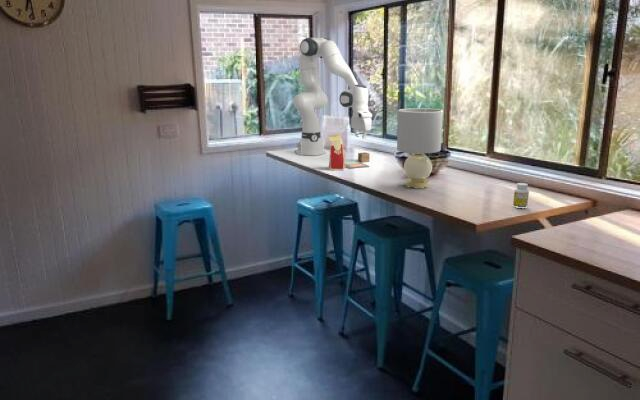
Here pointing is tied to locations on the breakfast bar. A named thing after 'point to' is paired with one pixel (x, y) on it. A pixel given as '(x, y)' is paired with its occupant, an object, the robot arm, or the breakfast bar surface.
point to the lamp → (419, 142)
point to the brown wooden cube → (363, 157)
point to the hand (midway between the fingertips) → (360, 137)
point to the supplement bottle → (521, 195)
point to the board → (355, 165)
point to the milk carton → (336, 153)
